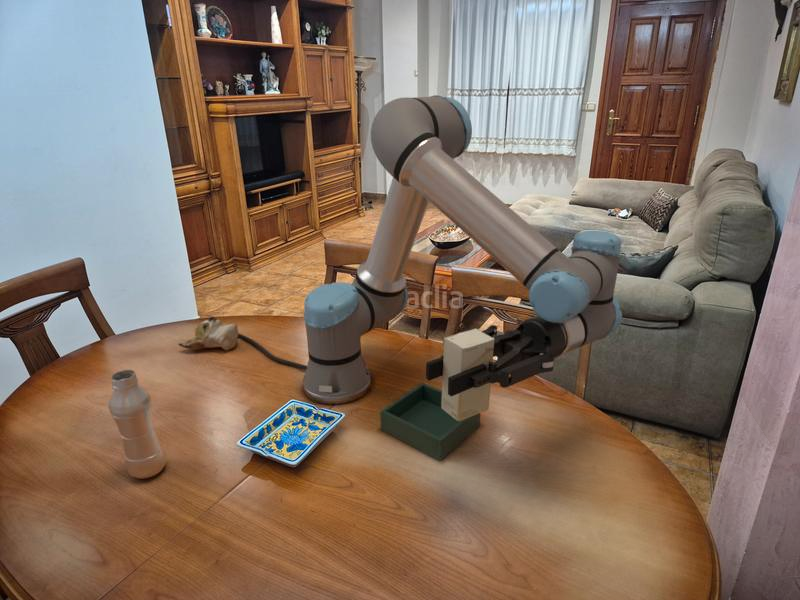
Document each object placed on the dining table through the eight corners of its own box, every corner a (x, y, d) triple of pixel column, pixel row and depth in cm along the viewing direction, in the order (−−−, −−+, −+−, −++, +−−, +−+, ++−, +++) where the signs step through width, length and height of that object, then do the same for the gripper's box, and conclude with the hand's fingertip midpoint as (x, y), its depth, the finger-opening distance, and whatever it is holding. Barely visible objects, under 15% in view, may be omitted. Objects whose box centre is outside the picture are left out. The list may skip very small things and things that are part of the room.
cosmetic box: (458, 423, 75) (462, 349, 70) (439, 408, 78) (442, 337, 74) (490, 409, 78) (496, 338, 73) (471, 395, 82) (475, 327, 77)
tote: (380, 430, 102) (380, 411, 100) (422, 399, 112) (422, 382, 110) (440, 461, 93) (440, 441, 92) (479, 425, 103) (480, 406, 101)
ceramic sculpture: (223, 327, 127) (171, 325, 130) (230, 358, 130) (179, 355, 133) (245, 310, 136) (195, 309, 140) (251, 339, 139) (202, 337, 143)
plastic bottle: (153, 486, 89) (128, 387, 81) (119, 481, 90) (91, 383, 82) (176, 461, 94) (153, 367, 87) (143, 456, 96) (119, 363, 88)
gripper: (590, 377, 79) (479, 432, 67) (509, 336, 93) (403, 375, 81) (597, 334, 77) (481, 383, 65) (512, 298, 90) (403, 333, 78)
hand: (438, 379), depth 73 cm, fingers closed on cosmetic box, 4 cm apart
